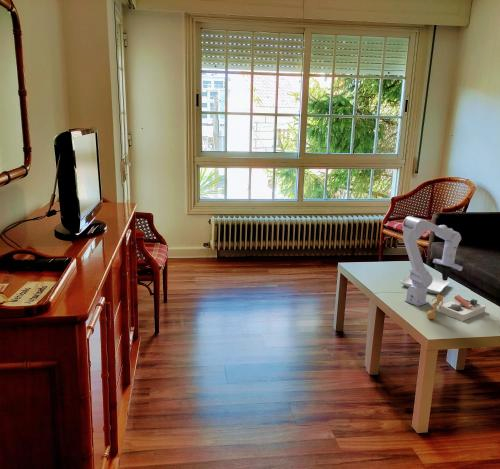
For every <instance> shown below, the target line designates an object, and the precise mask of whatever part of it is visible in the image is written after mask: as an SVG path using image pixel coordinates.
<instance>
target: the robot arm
mask: <svg viewBox="0 0 500 469" xmlns="http://www.w3.org/2000/svg"><path fill="white" fill-rule="evenodd" d="M401 227H402V229H403V230H402V231H403V234H402V240H403V244H404V247H405V250H406V253H407V255H408V260H409V262H410V265H411V268H410V269H409V274H410V279H411V280H412V286H411V287H407V291H406V298H405V299H404V300H403V301H404V302H407V303H409V304H411V305H413V306H417V307H420V306H423V305H425V304H426V305H427V304H428V303H430V301H429V300H427V293H428V292H427V288H428V287H429V286H430V285H431V283H432V281H433V278H432V277H433V276H432V275H431V274H430V271H429V270H428V269H427V268H426V267H425V265H424V262H423V258H422V255H421V251H420V248H419V246H418V245H419V244H418V242H417V240H419V239H420V238H421V237H422V236H423V234H424V233H425V231H426V232H427V231H428V230H429V231H431V232H432V233H433V232H434V235H435V236H436V237H438V238H440V239H442V240H444V245H443V251H442V257H441V259H439V258H433V260H432V263H433V264H438V265H440V266H439V270H440V272H441V277H442V278H441V279H443V280H444V281H446V280H447V281H448V279H449V277H450V275H451V273H452V272H453V271H454V270H457V271H459V272H461V271H463V265H462V266H461V265H460V264H457V263H455V260H456V255H457V253H456V252H457V249H458V246H459V243H460V242H461V240H462V236H461V234H460V232H458V231H455V230H454V229H453V228H452V227H450V228H449V227H448V226H447V225H445V224H440V225H437V224H435V223H433V222H431V221H429V220H426V219H424V218H419V217H415V216H411V215H408V216H406V217H405V218H404V220H403V221H402V224H401Z"/></svg>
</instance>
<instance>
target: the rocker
mask: <svg viewBox="0 0 500 469" xmlns="http://www.w3.org/2000/svg"><path fill="white" fill-rule="evenodd" d="M463 298H464V297H462V296H461V295H460V294H458V295H455V296H454V298H453V299H454V300H457V301H458V302H460V303H461V304H462V305H464V306H465V307H466V308H468V309H470V308H472V306H473V305H471V304H470V303H469V302H467V301H466V300H465V299H466V298H465V299H463Z"/></svg>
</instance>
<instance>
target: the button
mask: <svg viewBox="0 0 500 469" xmlns="http://www.w3.org/2000/svg"><path fill="white" fill-rule="evenodd" d="M451 309H452V310H455V311H457V312H459V311H461V306H460V305H457V304H452V305H451Z"/></svg>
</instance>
